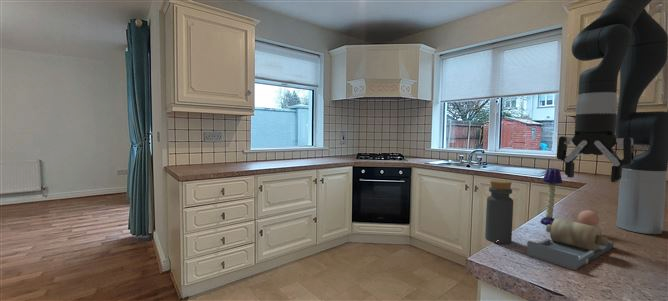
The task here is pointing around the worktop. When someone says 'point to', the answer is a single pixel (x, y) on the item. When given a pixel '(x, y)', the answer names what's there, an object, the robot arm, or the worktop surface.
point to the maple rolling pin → (576, 234)
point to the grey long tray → (564, 253)
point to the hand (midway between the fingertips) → (591, 179)
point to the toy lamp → (551, 192)
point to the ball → (588, 218)
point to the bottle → (499, 213)
